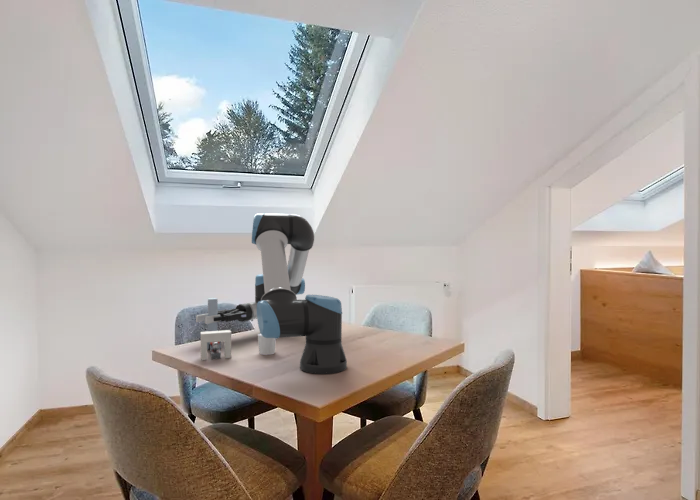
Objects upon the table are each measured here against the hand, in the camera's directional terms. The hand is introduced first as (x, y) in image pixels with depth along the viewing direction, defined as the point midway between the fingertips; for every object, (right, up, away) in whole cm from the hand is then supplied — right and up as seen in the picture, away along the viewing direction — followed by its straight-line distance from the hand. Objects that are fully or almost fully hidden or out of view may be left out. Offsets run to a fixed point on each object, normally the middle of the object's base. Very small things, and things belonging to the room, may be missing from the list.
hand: (201, 319), depth 168 cm
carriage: (+4, -10, +1) cm, 11 cm away
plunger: (+10, -8, -14) cm, 19 cm away
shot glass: (+27, -11, -9) cm, 30 cm away
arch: (+10, -11, -16) cm, 22 cm away
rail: (+7, -11, -7) cm, 14 cm away
